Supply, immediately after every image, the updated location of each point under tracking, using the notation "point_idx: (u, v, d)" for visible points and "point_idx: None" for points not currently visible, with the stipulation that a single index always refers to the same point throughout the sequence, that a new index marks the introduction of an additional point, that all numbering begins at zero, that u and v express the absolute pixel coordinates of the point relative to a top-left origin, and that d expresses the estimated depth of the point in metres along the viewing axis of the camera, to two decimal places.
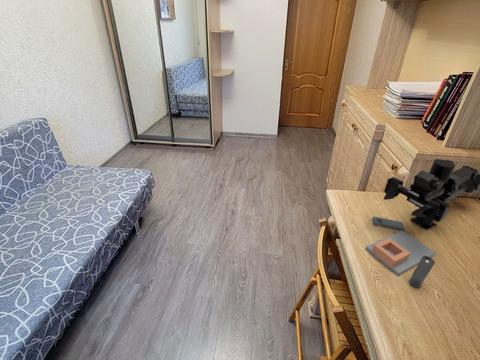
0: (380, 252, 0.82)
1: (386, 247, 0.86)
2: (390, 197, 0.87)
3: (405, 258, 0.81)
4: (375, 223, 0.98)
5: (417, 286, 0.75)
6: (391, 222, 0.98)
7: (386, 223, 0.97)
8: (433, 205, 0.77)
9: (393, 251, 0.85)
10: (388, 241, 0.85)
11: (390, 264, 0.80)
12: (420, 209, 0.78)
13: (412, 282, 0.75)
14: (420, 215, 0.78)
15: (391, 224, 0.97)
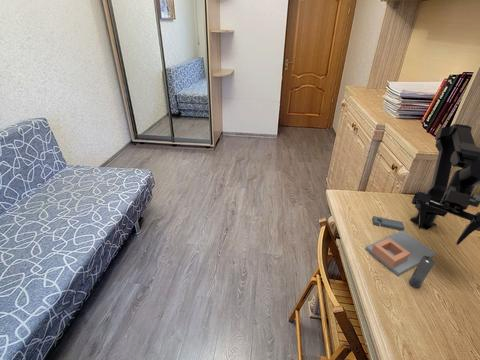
0: (380, 252, 0.82)
1: (386, 247, 0.86)
2: None
3: (405, 258, 0.81)
4: (375, 223, 0.98)
5: (417, 286, 0.75)
6: (391, 222, 0.98)
7: (386, 223, 0.97)
8: (477, 226, 0.69)
9: (393, 251, 0.85)
10: (388, 241, 0.85)
11: (390, 264, 0.80)
12: (464, 236, 0.71)
13: (412, 282, 0.75)
14: None
15: (391, 224, 0.97)
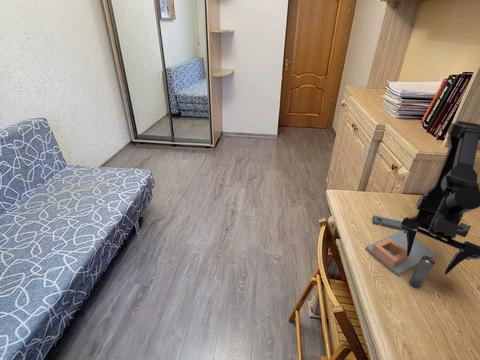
0: (380, 252, 0.82)
1: (386, 247, 0.86)
2: None
3: (405, 258, 0.81)
4: (375, 222, 0.98)
5: (417, 286, 0.75)
6: (391, 221, 0.98)
7: (386, 222, 0.98)
8: (465, 256, 0.67)
9: (393, 251, 0.85)
10: (388, 241, 0.85)
11: (390, 264, 0.80)
12: (452, 265, 0.69)
13: (412, 282, 0.75)
14: None
15: (391, 223, 0.97)
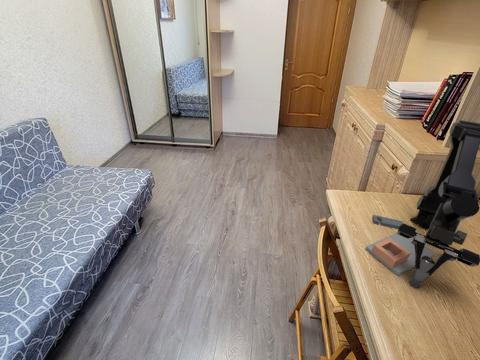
0: (380, 252, 0.82)
1: (386, 247, 0.86)
2: None
3: (405, 258, 0.81)
4: (375, 221, 0.99)
5: (417, 286, 0.75)
6: (391, 221, 0.98)
7: (386, 222, 0.98)
8: (448, 258, 0.69)
9: (393, 251, 0.85)
10: (388, 241, 0.85)
11: (390, 264, 0.80)
12: (436, 267, 0.70)
13: (412, 282, 0.75)
14: None
15: (391, 223, 0.97)
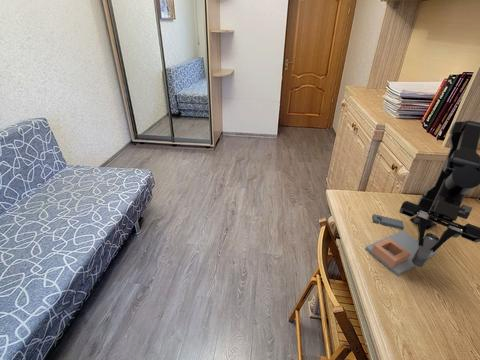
0: (380, 252, 0.82)
1: (386, 247, 0.86)
2: None
3: (405, 258, 0.81)
4: (374, 220, 0.99)
5: (420, 264, 0.73)
6: (391, 220, 0.99)
7: (385, 221, 0.98)
8: (453, 233, 0.67)
9: (393, 251, 0.85)
10: (388, 241, 0.85)
11: (390, 264, 0.80)
12: (440, 243, 0.68)
13: (415, 260, 0.73)
14: None
15: (390, 222, 0.98)
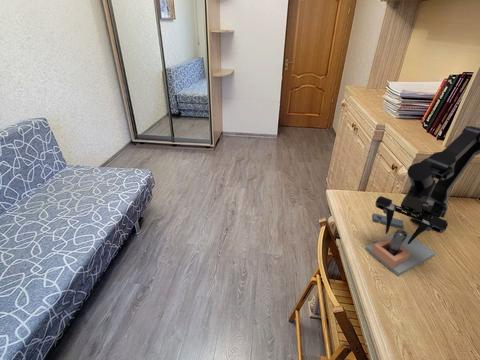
0: (380, 252, 0.82)
1: (386, 247, 0.86)
2: (390, 223, 0.82)
3: (405, 258, 0.81)
4: (374, 219, 0.99)
5: None
6: None
7: (385, 220, 0.99)
8: (425, 227, 0.75)
9: None
10: (388, 241, 0.85)
11: (390, 264, 0.80)
12: (414, 236, 0.76)
13: None
14: None
15: None
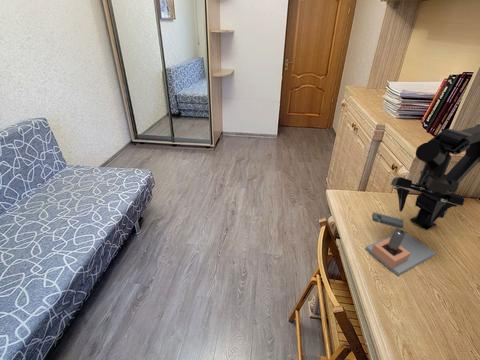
0: (380, 252, 0.82)
1: None
2: None
3: (405, 258, 0.81)
4: (374, 218, 1.00)
5: None
6: (391, 219, 0.99)
7: (385, 219, 0.99)
8: (450, 206, 0.78)
9: None
10: (388, 241, 0.85)
11: (390, 264, 0.80)
12: (438, 215, 0.79)
13: None
14: None
15: (390, 221, 0.98)
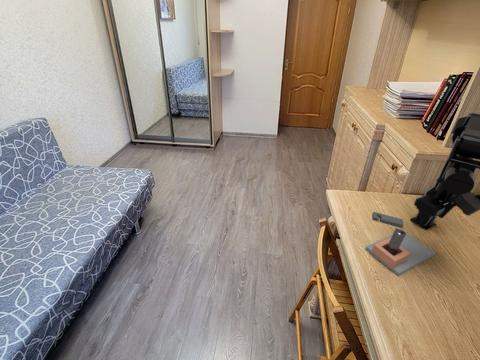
0: (380, 252, 0.82)
1: (386, 247, 0.86)
2: None
3: (405, 258, 0.81)
4: (374, 218, 1.00)
5: None
6: (391, 218, 1.00)
7: (385, 219, 0.99)
8: None
9: None
10: (388, 241, 0.85)
11: (390, 264, 0.80)
12: (448, 212, 0.81)
13: None
14: None
15: (390, 220, 0.99)
